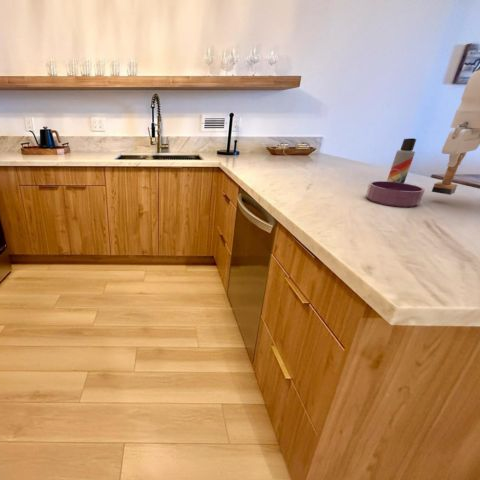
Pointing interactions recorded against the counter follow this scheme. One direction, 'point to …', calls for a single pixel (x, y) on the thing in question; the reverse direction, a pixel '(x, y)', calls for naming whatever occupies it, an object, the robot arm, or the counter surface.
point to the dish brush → (447, 180)
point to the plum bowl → (394, 193)
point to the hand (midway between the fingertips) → (453, 166)
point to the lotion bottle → (402, 161)
